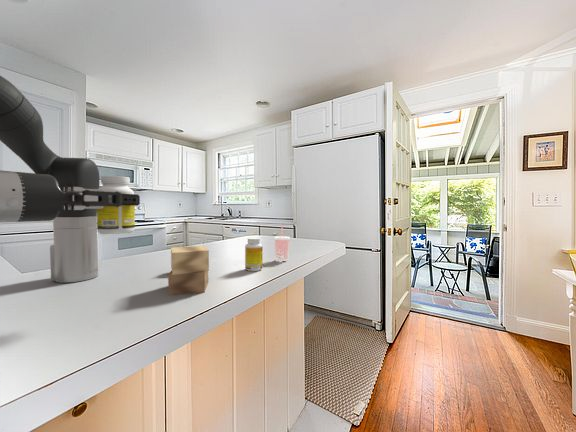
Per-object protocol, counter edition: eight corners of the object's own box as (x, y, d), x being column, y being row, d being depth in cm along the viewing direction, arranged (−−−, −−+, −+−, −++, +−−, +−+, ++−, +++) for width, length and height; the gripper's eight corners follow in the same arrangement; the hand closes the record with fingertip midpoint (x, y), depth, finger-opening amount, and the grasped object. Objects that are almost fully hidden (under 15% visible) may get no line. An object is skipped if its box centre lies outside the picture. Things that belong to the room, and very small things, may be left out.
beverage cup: (285, 263, 89) (285, 224, 89) (270, 261, 92) (271, 223, 91) (292, 260, 95) (292, 223, 94) (278, 258, 98) (278, 222, 97)
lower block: (168, 295, 57) (168, 274, 57) (176, 284, 65) (176, 265, 65) (204, 293, 59) (204, 272, 59) (208, 282, 67) (208, 264, 67)
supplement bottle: (264, 271, 79) (264, 238, 78) (246, 272, 77) (246, 239, 76) (260, 266, 84) (260, 236, 83) (243, 268, 82) (243, 237, 82)
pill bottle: (130, 230, 54) (129, 179, 53) (138, 232, 50) (138, 177, 49) (94, 232, 49) (93, 176, 49) (100, 235, 45) (99, 173, 45)
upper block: (172, 274, 57) (172, 253, 56) (171, 266, 64) (171, 247, 63) (208, 270, 60) (208, 250, 60) (203, 263, 67) (203, 245, 67)
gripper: (28, 168, 33) (150, 180, 48) (-5, 173, 40) (110, 183, 55) (29, 224, 33) (150, 219, 48) (-4, 220, 40) (111, 217, 55)
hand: (128, 200), depth 51 cm, fingers closed on pill bottle, 6 cm apart
